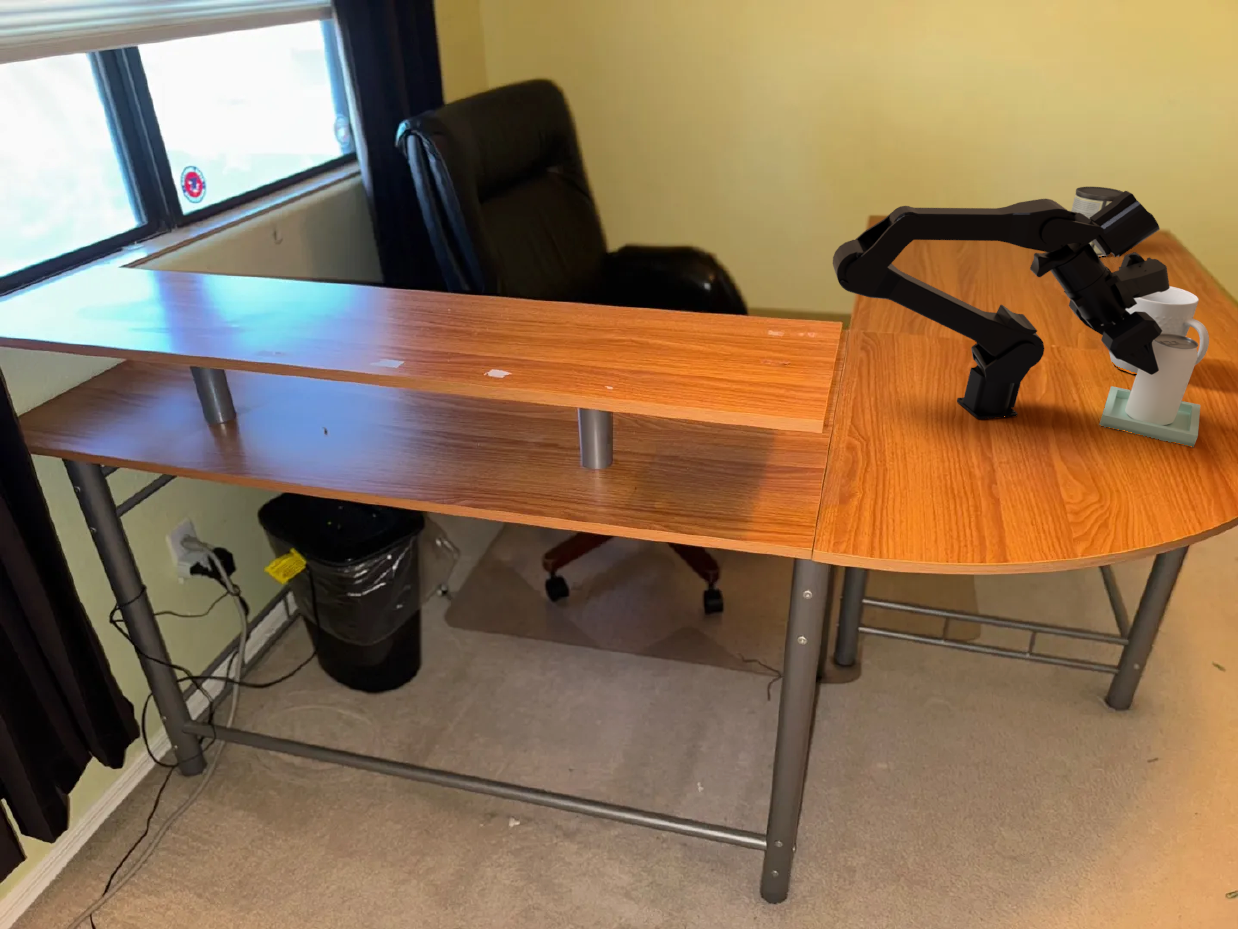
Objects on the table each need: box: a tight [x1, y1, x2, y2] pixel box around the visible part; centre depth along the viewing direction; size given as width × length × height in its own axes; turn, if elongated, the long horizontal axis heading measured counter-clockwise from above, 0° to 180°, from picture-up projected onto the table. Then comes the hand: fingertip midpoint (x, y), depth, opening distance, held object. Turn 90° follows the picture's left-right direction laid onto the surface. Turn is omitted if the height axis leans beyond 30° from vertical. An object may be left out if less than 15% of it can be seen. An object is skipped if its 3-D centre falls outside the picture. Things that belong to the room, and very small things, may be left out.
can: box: [1125, 333, 1199, 426], centre depth 126 cm, size 6×6×12 cm
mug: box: [1108, 285, 1210, 373], centre depth 142 cm, size 15×11×13 cm
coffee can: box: [1070, 186, 1124, 256], centre depth 205 cm, size 10×10×14 cm
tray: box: [1098, 385, 1201, 448], centre depth 129 cm, size 12×12×2 cm
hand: (1142, 359), depth 125 cm, fingers open, 9 cm apart
